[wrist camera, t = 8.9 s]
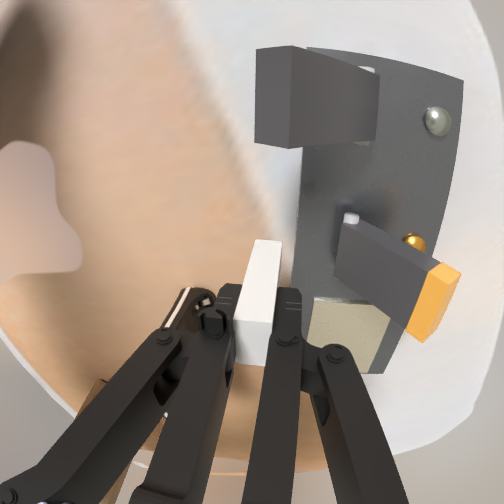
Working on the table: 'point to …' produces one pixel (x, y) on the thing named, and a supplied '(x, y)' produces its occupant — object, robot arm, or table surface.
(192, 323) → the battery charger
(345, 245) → the lever
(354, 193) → the panel
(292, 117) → the lever
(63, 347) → the table surface
